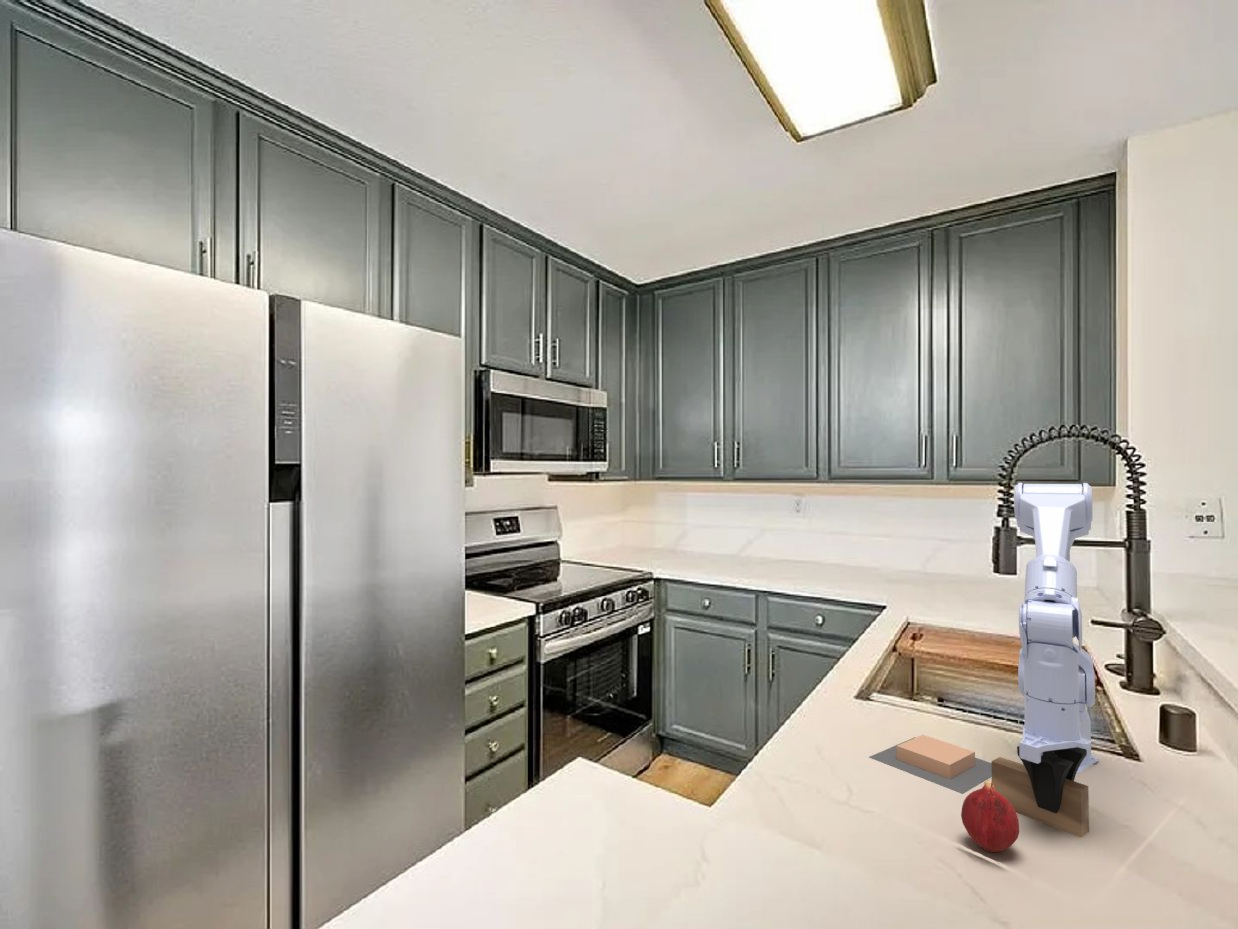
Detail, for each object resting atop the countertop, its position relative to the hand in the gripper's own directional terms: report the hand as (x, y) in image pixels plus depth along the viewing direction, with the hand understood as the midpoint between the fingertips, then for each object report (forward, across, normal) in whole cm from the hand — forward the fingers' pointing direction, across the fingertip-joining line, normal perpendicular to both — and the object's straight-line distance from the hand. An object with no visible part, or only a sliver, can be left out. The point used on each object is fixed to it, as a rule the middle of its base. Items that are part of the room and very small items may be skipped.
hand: (1052, 806), depth 77 cm
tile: (+1, +5, +13) cm, 14 cm away
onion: (+3, -13, +2) cm, 13 cm away
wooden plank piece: (+2, 0, +2) cm, 3 cm away
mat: (+2, +5, +17) cm, 18 cm away
